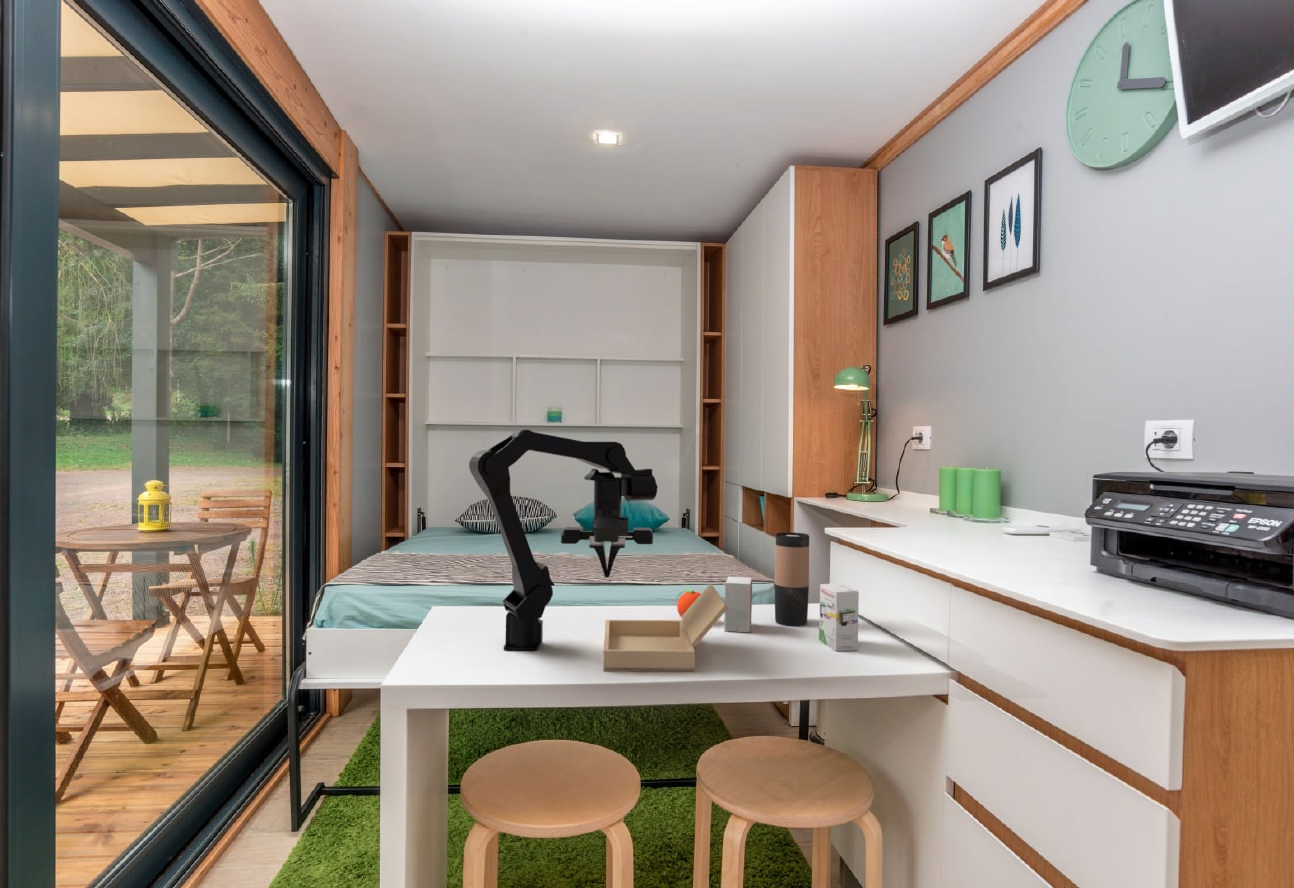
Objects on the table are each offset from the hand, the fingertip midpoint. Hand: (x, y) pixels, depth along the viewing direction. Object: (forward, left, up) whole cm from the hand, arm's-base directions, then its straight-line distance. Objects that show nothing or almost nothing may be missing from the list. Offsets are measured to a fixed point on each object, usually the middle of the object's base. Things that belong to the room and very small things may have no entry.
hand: (606, 577), depth 145 cm
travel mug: (+42, +12, -12) cm, 45 cm away
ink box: (+47, -6, -12) cm, 49 cm away
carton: (+8, -12, -12) cm, 19 cm away
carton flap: (+15, -12, -8) cm, 21 cm away
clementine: (+19, +12, -12) cm, 26 cm away
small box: (+29, +7, -12) cm, 32 cm away
